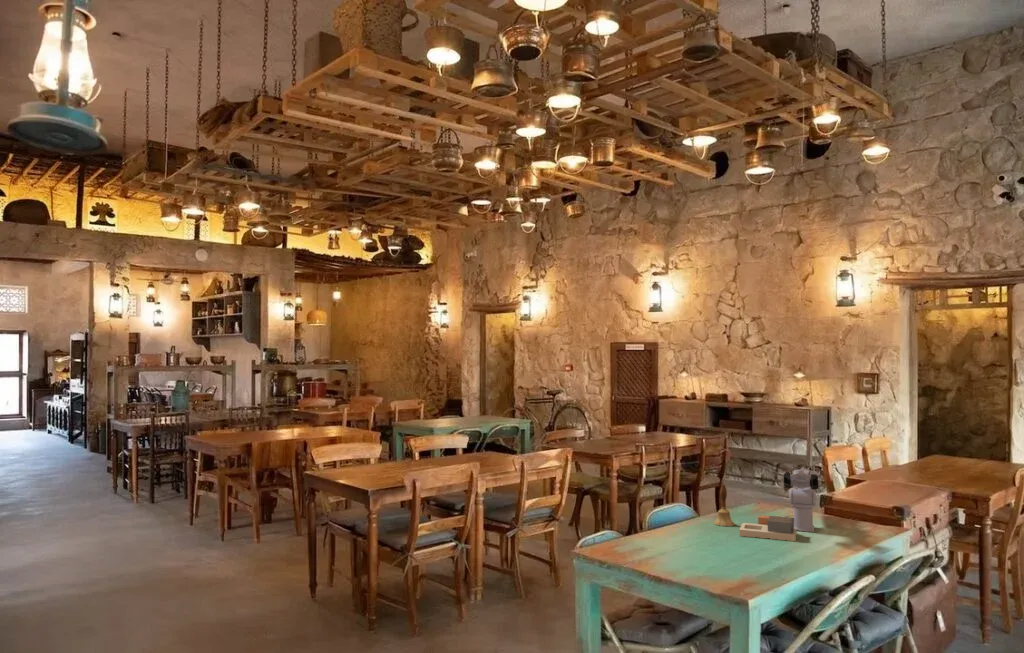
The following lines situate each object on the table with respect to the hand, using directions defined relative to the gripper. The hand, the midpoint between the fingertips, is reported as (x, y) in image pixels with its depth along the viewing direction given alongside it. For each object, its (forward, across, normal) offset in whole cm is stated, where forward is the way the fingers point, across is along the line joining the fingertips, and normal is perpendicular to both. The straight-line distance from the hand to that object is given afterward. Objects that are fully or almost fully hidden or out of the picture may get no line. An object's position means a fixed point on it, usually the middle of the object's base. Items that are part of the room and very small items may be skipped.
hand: (799, 482), depth 273 cm
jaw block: (-15, -14, +20) cm, 29 cm away
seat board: (-6, -12, +21) cm, 25 cm away
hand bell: (-16, -30, +20) cm, 40 cm away
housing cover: (-6, -7, +19) cm, 21 cm away
